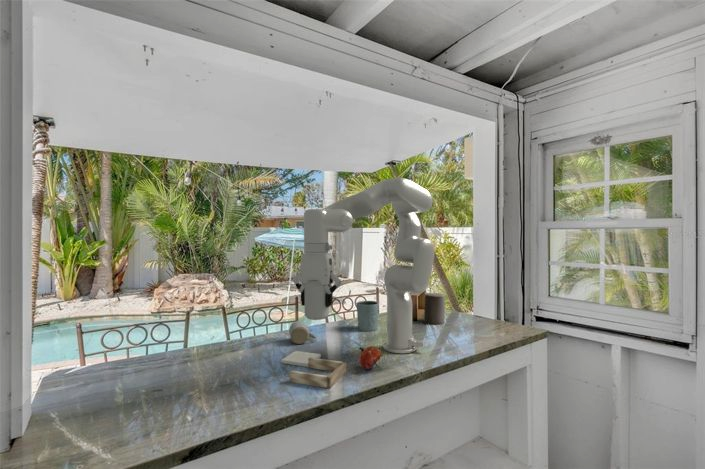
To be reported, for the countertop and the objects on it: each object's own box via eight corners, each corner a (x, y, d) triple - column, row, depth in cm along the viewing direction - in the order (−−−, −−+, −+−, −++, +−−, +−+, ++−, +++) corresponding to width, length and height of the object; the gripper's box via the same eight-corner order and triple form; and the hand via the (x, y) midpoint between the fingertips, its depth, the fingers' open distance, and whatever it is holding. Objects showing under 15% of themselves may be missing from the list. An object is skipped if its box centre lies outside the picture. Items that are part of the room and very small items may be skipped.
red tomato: (383, 372, 123) (362, 350, 127) (393, 358, 119) (372, 336, 124) (370, 382, 117) (349, 358, 121) (381, 367, 114) (359, 343, 118)
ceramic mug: (290, 345, 144) (291, 326, 143) (288, 339, 151) (289, 321, 151) (317, 344, 146) (318, 324, 146) (314, 338, 154) (314, 319, 154)
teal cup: (379, 332, 163) (379, 304, 163) (356, 331, 163) (356, 304, 163) (377, 326, 173) (377, 300, 173) (356, 325, 173) (356, 300, 173)
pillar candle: (424, 324, 176) (425, 292, 176) (424, 319, 186) (424, 289, 186) (445, 325, 175) (446, 293, 174) (443, 320, 184) (444, 290, 184)
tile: (320, 356, 131) (320, 354, 131) (307, 366, 122) (307, 363, 122) (295, 353, 134) (295, 350, 134) (281, 362, 125) (281, 360, 125)
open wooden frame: (346, 371, 117) (346, 362, 117) (329, 388, 105) (329, 377, 105) (309, 366, 122) (309, 357, 122) (289, 381, 110) (289, 371, 110)
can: (304, 315, 119) (304, 277, 119) (328, 314, 120) (328, 277, 119) (304, 321, 111) (304, 281, 111) (329, 320, 112) (328, 280, 112)
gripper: (346, 248, 116) (346, 304, 116) (296, 247, 122) (297, 301, 122) (337, 250, 109) (338, 309, 109) (285, 249, 114) (285, 306, 115)
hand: (316, 305), depth 116 cm, fingers closed on can, 7 cm apart
